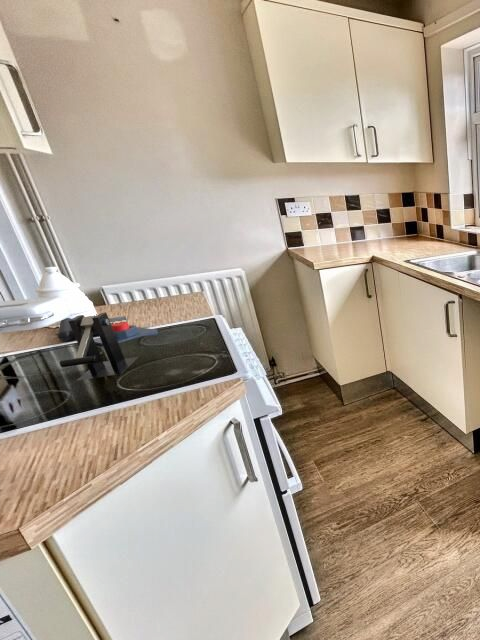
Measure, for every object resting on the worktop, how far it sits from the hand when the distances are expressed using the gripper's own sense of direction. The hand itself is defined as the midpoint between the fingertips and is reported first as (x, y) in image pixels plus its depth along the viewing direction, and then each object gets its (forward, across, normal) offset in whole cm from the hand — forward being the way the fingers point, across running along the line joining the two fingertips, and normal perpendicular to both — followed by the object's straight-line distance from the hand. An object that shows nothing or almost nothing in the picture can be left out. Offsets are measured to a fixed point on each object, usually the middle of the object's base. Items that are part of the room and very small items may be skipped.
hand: (6, 306), depth 71 cm
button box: (+48, +5, +22) cm, 54 cm away
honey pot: (+80, +29, +23) cm, 88 cm away
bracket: (+22, 0, +22) cm, 31 cm away
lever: (+18, 0, +14) cm, 23 cm away
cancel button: (+48, +5, +19) cm, 52 cm away
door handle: (+65, +18, +22) cm, 71 cm away
